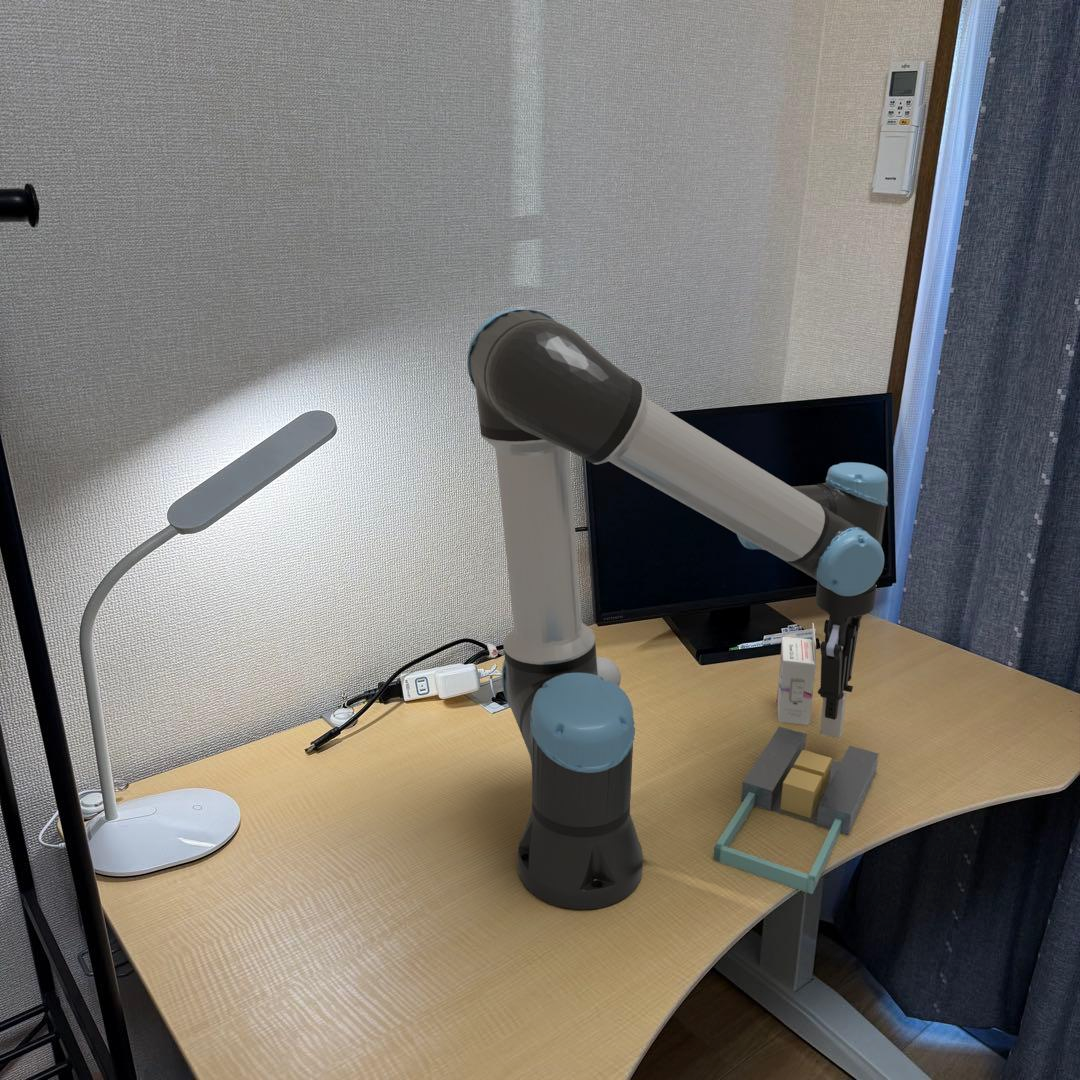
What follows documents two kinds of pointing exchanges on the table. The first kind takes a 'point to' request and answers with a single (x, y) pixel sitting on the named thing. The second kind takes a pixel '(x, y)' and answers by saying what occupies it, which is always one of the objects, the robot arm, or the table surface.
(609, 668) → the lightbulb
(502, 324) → the robot arm
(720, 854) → the teal u-shaped bar frame
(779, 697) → the ink cartridge box
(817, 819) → the slot board
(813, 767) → the beige wooden block
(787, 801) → the tan wooden cube
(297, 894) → the table surface
